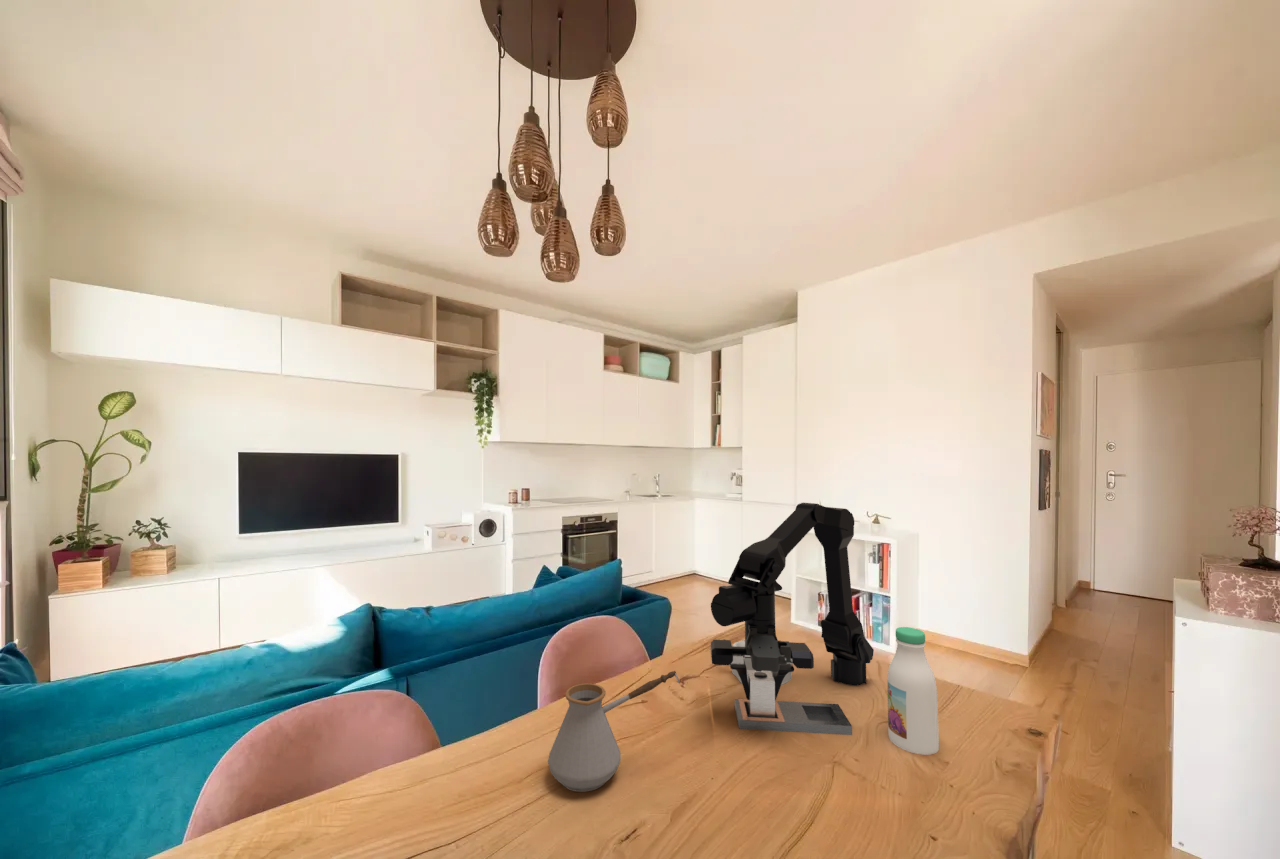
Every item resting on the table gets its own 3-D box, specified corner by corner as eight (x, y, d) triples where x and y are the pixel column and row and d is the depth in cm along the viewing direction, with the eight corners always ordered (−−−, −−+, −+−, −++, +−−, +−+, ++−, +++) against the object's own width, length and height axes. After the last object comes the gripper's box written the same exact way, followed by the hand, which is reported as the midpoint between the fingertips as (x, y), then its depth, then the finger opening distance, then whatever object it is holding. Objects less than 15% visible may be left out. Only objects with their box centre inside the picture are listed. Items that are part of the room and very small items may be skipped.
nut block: (770, 707, 95) (770, 670, 96) (775, 720, 91) (774, 680, 91) (747, 706, 95) (747, 669, 96) (750, 718, 91) (750, 679, 91)
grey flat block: (838, 717, 96) (838, 703, 96) (852, 740, 88) (852, 725, 88) (734, 711, 97) (734, 698, 98) (739, 734, 89) (738, 719, 90)
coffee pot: (548, 805, 71) (550, 698, 72) (547, 758, 82) (548, 666, 83) (689, 787, 75) (689, 686, 76) (670, 744, 86) (670, 657, 87)
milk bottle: (936, 741, 88) (932, 627, 89) (942, 765, 81) (938, 641, 82) (887, 731, 91) (885, 620, 92) (889, 753, 84) (886, 634, 85)
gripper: (713, 628, 87) (713, 719, 86) (821, 632, 85) (822, 724, 84) (710, 609, 98) (710, 689, 97) (805, 612, 96) (807, 694, 95)
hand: (760, 699), depth 93 cm, fingers closed on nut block, 4 cm apart
